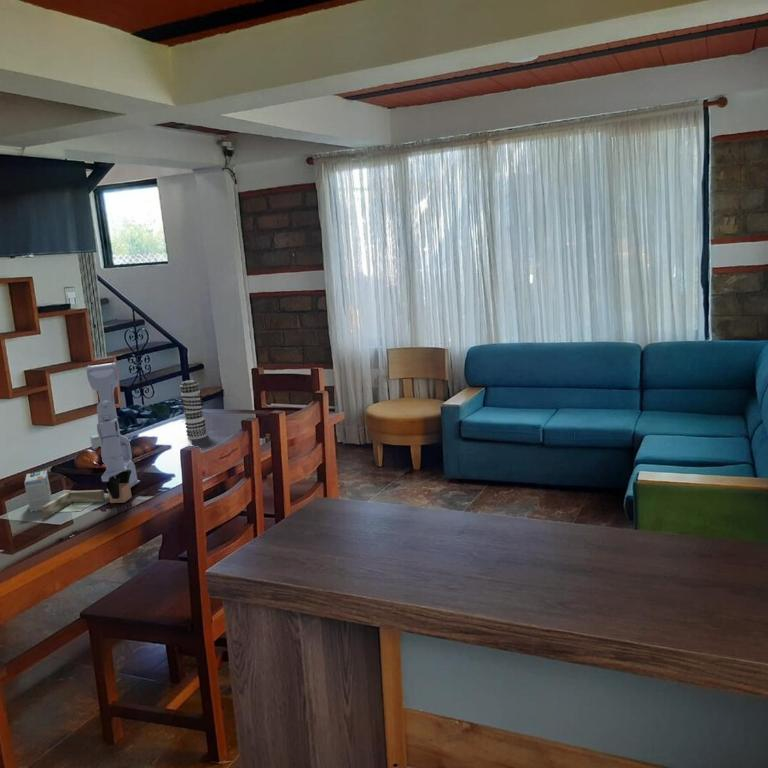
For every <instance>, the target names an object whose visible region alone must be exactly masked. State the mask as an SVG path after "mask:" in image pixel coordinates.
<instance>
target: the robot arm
mask: <svg viewBox="0 0 768 768" xmlns="http://www.w3.org/2000/svg"><path fill="white" fill-rule="evenodd" d="M86 376H87V380H88V383H89V385H90V387H91V389H92V390H94V391H97V394H98V398H99V403H98V404H96V413H97V415H96V416H97V421H98V422H97V424H96V429H97V435H98V436H99V438H100V442H101V444H100V447H101V457H102V462H103V463H104V464H105V465H104V466H105V469H106V470H105V471H104V473H103V474H102V475H101V476H100V477H101V483H102V484H103V485H104V487H106V492H108V490H109V492H110V494H111V496H112V498H113V499H118V498H119V483H129V484H130V489H131V488H132V487H134V486H136V485H137V484H139V483H140V482H141V479H138V475H137V470H136V469H137V468H136V465H135V462H134V461H132V459H133V453H132V447H131V443H130V440H129V438H128V437H127V436H125V435H122V434H121V429H120V424H119V423H120V422H119V421H118V420H119V419H118V415H117V414H118V412H117V408H116V407H117V406H116V403H115V388H117V387H118V386H120V378H119V370H118V366H117V363H116V362H109V363H102V364H101V363H100V364H95V365H87V367H86Z"/></svg>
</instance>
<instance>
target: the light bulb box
mask: <svg viewBox="0 0 768 768" xmlns="http://www.w3.org/2000/svg"><path fill="white" fill-rule="evenodd" d="M24 488H25V489H24V490H25V493H26V499H27V503H28V507H29V513H33V512H32V511H35V512H38V510H40V511H42V508H41V507H42V506H44V505H46V504H47V503H49V502H51V501H53V497H52V492H51V491H52V490H51V485H50V481H49V475H48V470H40V471H35V472H31V473H26V474H25V480H24Z"/></svg>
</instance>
